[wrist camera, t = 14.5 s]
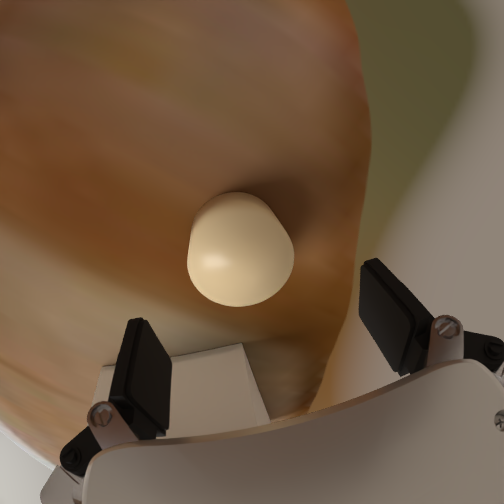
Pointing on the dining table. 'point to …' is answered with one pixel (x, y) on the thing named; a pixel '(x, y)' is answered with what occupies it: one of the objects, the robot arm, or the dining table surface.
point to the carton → (206, 393)
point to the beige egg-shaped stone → (238, 250)
